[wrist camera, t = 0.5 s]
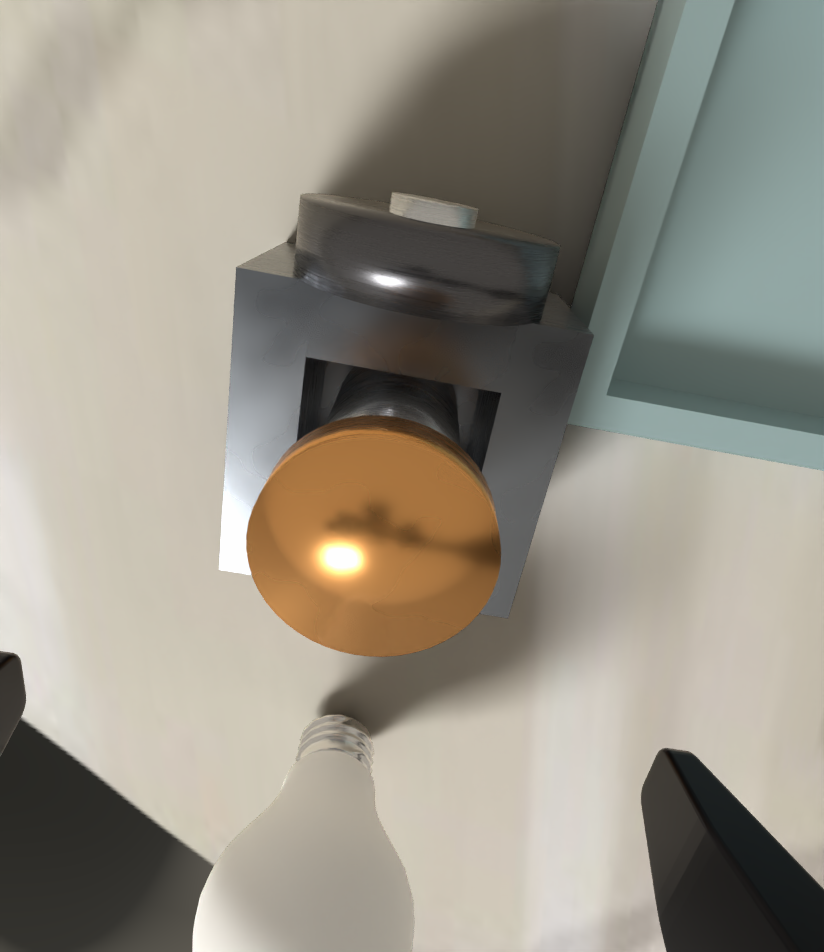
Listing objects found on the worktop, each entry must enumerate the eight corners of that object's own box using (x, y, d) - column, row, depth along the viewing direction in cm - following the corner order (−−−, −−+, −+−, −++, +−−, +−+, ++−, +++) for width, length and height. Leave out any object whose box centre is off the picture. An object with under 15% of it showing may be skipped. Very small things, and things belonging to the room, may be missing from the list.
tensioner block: (576, 221, 18) (642, 249, 12) (493, 527, 22) (513, 655, 17) (291, 165, 18) (219, 167, 12) (264, 486, 22) (201, 603, 16)
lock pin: (493, 346, 19) (529, 466, 11) (458, 491, 21) (470, 673, 13) (328, 315, 18) (255, 417, 11) (310, 465, 21) (238, 635, 13)
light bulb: (303, 638, 25) (213, 953, 15) (451, 707, 26) (459, 1039, 16) (235, 744, 27) (120, 1072, 18) (372, 802, 29) (338, 1138, 19)
